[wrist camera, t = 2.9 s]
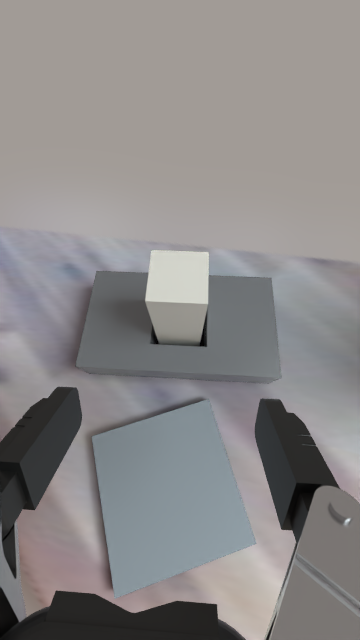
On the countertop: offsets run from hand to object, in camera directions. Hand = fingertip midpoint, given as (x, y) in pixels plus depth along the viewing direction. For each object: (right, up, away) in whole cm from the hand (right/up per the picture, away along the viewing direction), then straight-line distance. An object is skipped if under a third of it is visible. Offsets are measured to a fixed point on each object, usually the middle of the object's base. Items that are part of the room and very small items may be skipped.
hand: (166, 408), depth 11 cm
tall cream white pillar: (+1, +3, +16) cm, 16 cm away
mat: (0, -10, +10) cm, 14 cm away
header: (+1, +3, +16) cm, 16 cm away
